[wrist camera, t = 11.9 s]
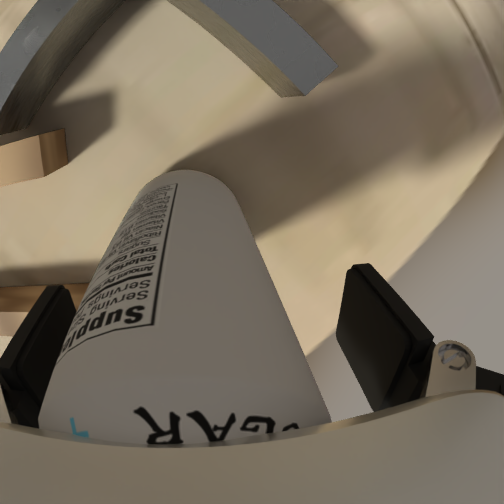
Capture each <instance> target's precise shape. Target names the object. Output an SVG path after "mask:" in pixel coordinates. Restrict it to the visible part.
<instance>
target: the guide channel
mask: <svg viewBox="0 0 504 504" xmlns="http://www.w3.org/2000/svg"><path fill="white" fill-rule="evenodd" d="M67 164H68V157H67V149H66V140H65V129H60V130H56V131H52V132H47V133H44V134H40V135H36V136H32V137H29V138H25V139H21V140H18V141H15V142H11V143H8V144H5V145H2V146H0V187H2V186H6V185H10V184H14V183H18V182H23V181H27V180H32V179H37V178H42V177H45V176H47V175H49V174H50V173H52V172H54V171H56V170H58V169H60V168H61V167H63V166H65V165H67ZM89 284H90V283H78V284H60V285H63V286H64V287H65V289H68V290H69V291H70V294H71V297H72V300H73V303H74V305H75V308H76V311H77V310H78V308H79V305H80V303H81V301H82V299H83V297H84V294H85V292H86V290H87V288H88V286H89ZM47 286H48V285H40V286H19V287H0V336H14V335H15V333H16V331H17V330H18V328H19V327H20V325H21V323H22V322H23V320H24V319H25V317H26V316H27V314H28V313H29V311H30V310H31V308H32V307H33V305H34V304H35V302H36V301H37V299H38V298H39V296H40V295H41V294H42V292H43V291H44V289H45V288H46V287H47Z"/></svg>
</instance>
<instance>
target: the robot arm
mask: <svg viewBox="0 0 504 504" xmlns="http://www.w3.org/2000/svg"><path fill="white" fill-rule="evenodd" d="M76 312H77V311H76V308H75V305H74V303H73V300H72V297H71V294H70V291H69V290H68V289H65V287H64V286H63V285H48V286H47V287H46V288H45V289H44V291H43V292H42V294H41V295H40V296H39V298H38V299H37V301H36V302H35V304H34V305H33V307H32V308H31V310H30V311H29V313H28V314H27V316H26V317H25V319H24V320H23V322H22V323H21V325H20V327H19V328H18V330H17V331H16V333H15V335H14V336H13V338H12V339H11V341H10V343H9V344H8V346H7V348H6V350H5V351H4V353H3V355H2V357H1V358H0V504H504V375H503V374H499V373H497V372H493V371H490V370H487V369H484V368H481V367H478V366H476V360H475V356H474V354H473V353H472V351H471V350H470V349H469V348H468V347H467V346H465V345H463V344H462V343H460V342H457V341H452V340H446V341H442V342H439V343H438V344H437V345H436V344H435V343H434V342H433V338H434V336H433V335H432V333H431V332H430V331H429V330H428V329H427V327H426V326H425V325H424V324H423V323H422V322H421V320H420V319H419V318H418V317H417V316H416V315H415V313H414V312H413V311H412V310H411V309H410V308H409V306H408V305H407V304H406V303H405V302H404V301H403V299H402V298H401V297H400V296H399V295H398V294H397V293H396V292H395V291H394V289H393V288H392V287H391V286H390V285H389V284H388V283H387V282H386V280H385V279H384V278H383V277H382V276H381V275H380V274H379V273H378V272H377V271H376V270H375V269H374V267H373V266H372V265H371V264H369V263H366V264H355V265H353V266H352V267H351V269H349V270H348V271H347V273H346V279H345V285H344V291H343V297H342V303H341V308H340V314H339V319H338V324H337V329H336V337H337V341H338V343H339V345H340V347H341V349H342V351H343V353H344V354H345V356H346V358H347V360H348V362H349V364H350V366H351V368H352V370H353V372H354V374H355V376H356V378H357V380H358V382H359V384H360V386H361V388H362V390H363V392H364V394H365V396H366V398H367V400H368V402H369V404H370V406H371V408H372V409H373V411H374V412H373V413H369V414H365V415H361V416H357V417H353V418H349V419H345V420H341V421H336V422H331V423H327V424H322V425H317V426H312V427H306V428H301V429H295V430H289V431H282V432H276V433H268V434H260V435H252V436H247V437H241V438H236V439H230V440H222V441H214V442H204V443H193V444H134V443H122V442H112V441H106V440H99V439H93V438H87V437H82V436H78V435H74V434H70V433H63V432H56V431H50V430H44V429H39V422H38V417H39V414H40V410H41V407H42V404H43V400H44V397H45V394H46V391H47V388H48V385H49V382H50V379H51V376H52V373H53V370H54V368H55V365H56V362H57V359H58V357H59V354H60V351H61V349H62V346H63V344H64V341H65V339H66V336H67V334H68V331H69V329H70V326H71V324H72V322H73V319H74V317H75V315H76Z"/></svg>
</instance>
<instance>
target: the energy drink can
mask: <svg viewBox="0 0 504 504" xmlns="http://www.w3.org/2000/svg"><path fill="white" fill-rule="evenodd" d="M38 422H39V429H44V430H50V431H56V432H63V433H70V434H74V435H78V436H82V437H87V438H93V439H99V440H106V441H112V442H122V443H134V444H193V443H204V442H214V441H222V440H230V439H236V438H241V437H247V436H252V435H260V434H268V433H276V432H282V431H289V430H295V429H301V428H306V427H312V426H317V425H322V424H327V423H331V422H332V421H331V418H330V414H329V412H328V409H327V407H326V405H325V402H324V400H323V398H322V396H321V393H320V391H319V388H318V386H317V384H316V381H315V379H314V377H313V374H312V372H311V370H310V367H309V365H308V362H307V360H306V358H305V355H304V353H303V351H302V348H301V346H300V344H299V341H298V339H297V337H296V334H295V332H294V330H293V327H292V325H291V323H290V321H289V318H288V316H287V314H286V311H285V309H284V307H283V304H282V302H281V300H280V297H279V295H278V293H277V290H276V288H275V286H274V283H273V281H272V279H271V277H270V274H269V272H268V270H267V267H266V265H265V263H264V260H263V258H262V256H261V254H260V251H259V249H258V247H257V244H256V242H255V240H254V237H253V235H252V233H251V231H250V228H249V226H248V224H247V221H246V219H245V217H244V215H243V212H242V210H241V208H240V206H239V203H238V201H237V199H236V198H235V196H234V195H233V193H232V191H231V190H230V189H229V188H228V187H227V186H226V185H225V184H224V183H223V182H221V181H220V180H218V179H217V178H215V177H213V176H211V175H209V174H206V173H204V172H200V171H195V170H176V171H172V172H167V173H165V174H162V175H160V176H158V177H156V178H154V179H153V180H152V181H150V182H149V183H147V184H146V185H145V186H144V187H143V188H142V190H141V191H140V192H139V193H138V195H137V196H136V198H135V200H134V201H133V203H132V205H131V206H130V208H129V210H128V212H127V213H126V215H125V217H124V219H123V220H122V222H121V224H120V226H119V227H118V229H117V231H116V233H115V235H114V237H113V238H112V240H111V242H110V244H109V246H108V248H107V250H106V252H105V254H104V255H103V257H102V259H101V261H100V263H99V265H98V267H97V269H96V271H95V273H94V275H93V278H92V280H91V282H90V284H89V286H88V288H87V290H86V292H85V294H84V297H83V299H82V301H81V303H80V305H79V308H78V310H77V312H76V315H75V317H74V319H73V322H72V324H71V326H70V329H69V331H68V334H67V336H66V339H65V341H64V344H63V346H62V349H61V351H60V354H59V357H58V359H57V362H56V365H55V368H54V370H53V373H52V376H51V379H50V382H49V385H48V388H47V391H46V394H45V397H44V400H43V404H42V407H41V410H40V414H39V417H38Z"/></svg>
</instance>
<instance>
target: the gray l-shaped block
mask: <svg viewBox="0 0 504 504" xmlns="http://www.w3.org/2000/svg"><path fill="white" fill-rule="evenodd" d="M124 1H126V0H38V1H37V2H36V4H35V5H34V6H33V7H32V9H31V10H30V11H29V12H28V14H27V15H26V16H25V18H24V19H23V20H22V22H21V23H20V24H19V26H18V27H17V29H16V30H15V31H14V33H13V34H12V36H11V37H10V39H9V40H8V42H7V43H6V45H5V46H4V48H3V49H2V51H1V53H0V135H3V134H6V133H10V132H14V131H18V130H22V129H26V128H27V127H28V125H29V124H30V122H31V120H32V118H33V117H34V115H35V113H36V112H37V110H38V109H39V107H40V105H41V104H42V102H43V101H44V99H45V97H46V96H47V94H48V93H49V91H50V90H51V88H52V87H53V86H54V84H55V83H56V81H57V80H58V78H59V77H60V76H61V74H62V73H63V71H64V70H65V69H66V67H67V66H68V65H69V63H70V62H71V61H72V60H73V58H74V57H75V56H76V54H77V53H78V52H79V51H80V50H81V48H82V47H83V46H84V45H85V43H86V42H87V41H88V40H89V39H90V38H91V36H92V35H93V34H94V33H95V32H96V31H97V30H98V28H99V27H100V26H101V25H102V24H103V23H104V22H105V21H106V20H107V19H108V18H109V17H110V16H111V15H112V13H113V12H114V11H115V10H116V9H117V8H118V7H119V6H120V5H121V4H122V3H123V2H124ZM167 1H169V2H170V3H171V4H173V5H174V6H176V7H177V8H178V9H180V10H181V11H182V12H184V13H185V14H186V15H188V16H189V17H190V18H192V19H193V20H194V21H195V22H197V23H198V24H199V25H201V26H202V27H203V28H204V29H206V30H207V31H208V32H209V33H211V34H212V35H213V36H214V37H215V38H217V39H218V40H219V41H220V42H221V43H223V44H224V45H225V46H226V47H227V48H228V49H230V50H231V51H232V52H233V53H234V54H235V55H236V56H238V57H239V58H240V59H241V60H242V61H243V62H244V63H245V64H246V65H248V66H249V67H250V68H251V69H252V70H253V71H254V72H255V73H256V74H257V75H258V76H259V77H260V78H262V79H263V80H264V81H265V82H266V83H267V84H268V85H269V86H270V87H271V88H272V89H273V90H274V91H275V92H276V93H277V94H278V95H279V96H280V97H294V96H306V95H307V94H308V93H309V92H310V91H311V90H312V89H313V88H315V87H316V86H317V85H318V84H319V83H320V82H321V81H322V80H323V79H325V78H326V77H327V76H328V75H329V74H330V73H331V72H332V71H334V70H335V69H336V68H337V67H338V65H337V64H336V63H335V62H334V61H333V60H332V58H331V57H330V56H329V55H328V54H327V53H326V52H325V51H324V50H323V49H322V48H321V47H320V46H319V44H318V43H317V42H316V41H315V40H314V39H313V38H312V37H311V36H310V35H309V34H308V33H307V32H306V31H305V30H304V29H303V28H302V27H301V26H300V25H299V24H298V23H297V22H295V21H294V20H293V19H292V18H291V17H290V16H289V15H288V14H287V13H286V12H285V11H284V10H283V9H281V8H280V7H279V6H278V5H277V4H276V3H275V2H274V1H272V0H167Z"/></svg>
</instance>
